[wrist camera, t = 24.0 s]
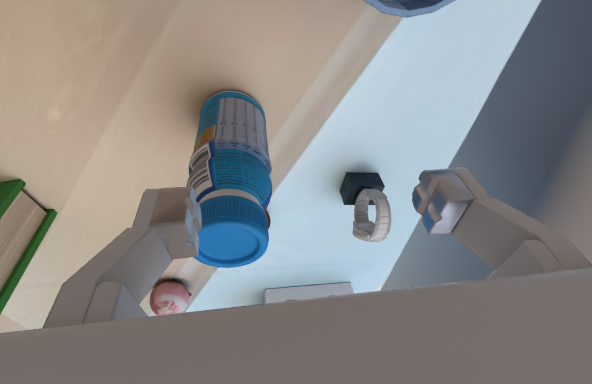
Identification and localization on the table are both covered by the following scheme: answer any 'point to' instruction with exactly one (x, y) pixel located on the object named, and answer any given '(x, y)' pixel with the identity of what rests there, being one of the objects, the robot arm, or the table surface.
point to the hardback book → (18, 234)
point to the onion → (169, 298)
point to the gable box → (307, 292)
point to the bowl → (408, 6)
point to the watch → (361, 194)
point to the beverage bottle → (231, 180)
